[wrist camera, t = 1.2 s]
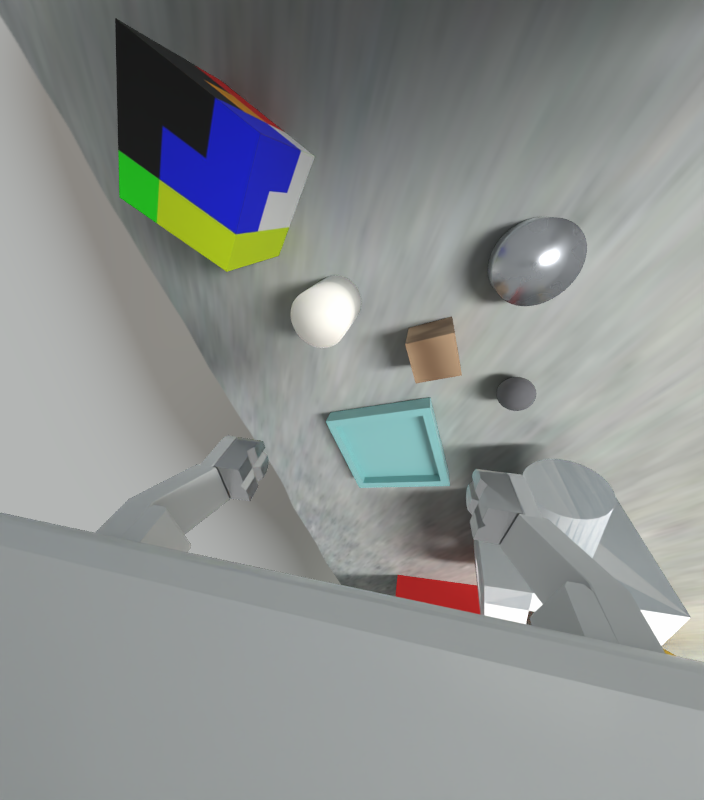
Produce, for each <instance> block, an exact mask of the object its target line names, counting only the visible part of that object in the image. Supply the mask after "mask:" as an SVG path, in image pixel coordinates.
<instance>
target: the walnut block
mask: <svg viewBox="0 0 704 800" xmlns="http://www.w3.org/2000/svg"><path fill="white" fill-rule="evenodd" d="M405 346H406V349H407V353H408V357H409V360H410V364H411V368H412V371H413V375H414V379H415V382H416V383H420V382H426V381H432V380H438V379H443V378H449V377H455V376H460V375H462V374H461V368H460V361H459V355H458V349H457V343H456V337H455V331H454V325H453V319H452V317H449V318H445V319H441V320H437V321H434V322H430V323H426V324H422V325H418V326H414V327H410V328H409V329H408V334H407V338H406V343H405Z"/></svg>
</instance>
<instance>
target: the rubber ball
mask: <svg viewBox="0 0 704 800" xmlns="http://www.w3.org/2000/svg"><path fill="white" fill-rule="evenodd" d="M535 398H536V389H535V387H534V385H533V384H532V383H531V382H530V381H529V380H527V379H525V378H521V377H513V378H509V379H507V380H505V381H503V382H502V383H501V384H500V386H499V387H498V390H497V399H498V401H499V403H500V404H501V405H502V406H503V407H505V408H507V409H509V410H513V411H519V410H524V409H526V408H528V407H529V406H531V405H532V404H533V402H534V401H535Z"/></svg>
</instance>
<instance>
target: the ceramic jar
mask: <svg viewBox="0 0 704 800" xmlns="http://www.w3.org/2000/svg"><path fill="white" fill-rule="evenodd" d="M360 310H361V296H360V293H359V290H358V289H357V287H356V286H355V284H354V283H353V282H352V281H350V280H349V279H347V278H345V277H343V276H339V275H333V276H329V277H327V278H325V279H323V280H322V281H320V282H318V283H317V284H315V285H314V286H312V287H311V288H309V289H307V290H306V291H304V292H303V293H301V294H300V295H299V296H298V297H297V298H296V299H295V300H294V302H293V304H292V307H291V321H292V325H293V327H294V329H295V331H296V333H297V334H298V336H299V337H300V338H301V339H302V340H303V341H305V342H306V343H308V344H309V345H311V346H314V347H318V348H328V347H331V346H334V345H335V344H337V343H338V342H339V341H340V340H341V339H342V337H343V336H344V335H345V333H346V332H347V330H348V329H349V328H350V326H351V325H352V323H353V322H354V321H355V319H356V318H357V317H358V315H359V313H360Z"/></svg>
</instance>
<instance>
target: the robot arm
mask: <svg viewBox="0 0 704 800" xmlns="http://www.w3.org/2000/svg"><path fill="white" fill-rule="evenodd" d="M264 449H265V445H264V442H263V441H260V440H254V439H248V438H242V437H234V436H226V437H224V438H223V439H222V440H221V441H220V442H219V443H218V445H217V446H216V447H215V448H214V449H213V451H211V453H210V454H209V455H208V456H207V457H206V458H205V460H204V461H203V462H202V463H201V464H200V465H198V464H196V465H195V466H192V467H190V468H189V469H186V470H185V471H183V472H181V473H179V474H177V475H175V476H173V477H171V478H169V479H167V480H165V481H163V482H161V483H159V484H157V485H155V486H153V487H151V488H149V489H147V490H146V491H143V492H142V493H140V494H138V495H136V496H134V497H132V498H130V499H129V500H128V501H127V502H125V504H124V505H123V506H122V507H120V509H118V511H116V512H115V513H114V514H113V515H112V516H111V517H110V518H109V519H108V520H107V521H106V522H105V523H104V524H103V525H102V526H101V527H100V529H98V530H97V531H96V532H95V533H94V532H89V531H85V530H80V529H75V528H70V527H66V526H61V525H56V524H51V523H47V522H42V521H37V520H33V519H28V518H23V517H19V516H14V515H10V514H4V513H0V800H704V662H701V661H697V660H692V659H687V658H683V657H678V656H673V655H668V654H666V653H665V652H664V650H663V648H662V647H661V645H660V643H659V641H658V640H657V638H656V636H655V634H654V633H653V631H652V629H651V628H650V626H649V624H648V622H647V621H646V619H645V617H644V616H643V614H642V612H641V610H640V609H639V607H638V605H637V604H636V602H635V600H634V598H633V597H632V595H631V593H630V592H629V591H628V590H627V589H626V588H625V587H624V586H623V585H622V584H620V583H619V582H618V581H617V580H616V579H615V578H614V577H613V576H611V575H610V574H609V573H608V572H607V571H606V570H605V569H604V568H603V567H601V566H600V565H599V564H598V563H597V562H596V561H595V560H594V559H592V558H591V557H590V556H589V555H588V554H587V553H586V552H585V551H584V550H582V549H581V548H580V547H579V546H578V545H577V544H576V543H575V542H573V541H572V540H571V539H570V538H569V537H568V536H567V535H566V534H565V533H563V532H562V531H561V530H560V529H559V528H558V527H557V526H556V525H554V524H553V523H552V522H551V521H550V520H549V519H548V518H543V517H542V515H541V513H540V511H539V508H538V506H537V504H536V502H535V499H534V497H533V495H532V493H531V490H530V488H529V486H528V484H527V481H526V479H525V477H524V476H523V475H521V474H513V473H505V472H497V471H489V470H481V469H475V470H474V472H473V474H472V479H473V482H471V483H469V484H468V487H467V491H466V504H467V510H468V511H469V512H470V513H471V514H472V517H471V519H470V526H471V531H472V536H473V540H478V541H483V542H488V543H493V544H498V545H500V548H501V549H502V550H503V552H504V553H505V554H506V556H507V557H508V558H509V560H510V561H511V562H512V564H513V565H514V566H515V568H516V569H517V570H518V572H519V573H520V574H521V576H522V577H523V579H524V580H525V581H526V583H527V584H528V585H529V587H530V588H531V589H532V591H533V592H534V593H535V595H536V596H537V597H538V599H539V600H540V601H541V603H542V604H543V605H542V606H541V607H540V608H538V609H537V610H536V611H535V612H534V613H533V614H532V615H531V617H530V621H531V625H527V624H523V623H518V622H513V621H508V620H504V619H499V618H494V617H490V616H485V615H480V614H475V613H471V612H466V611H461V610H457V609H452V608H447V607H443V606H438V605H433V604H428V603H424V602H419V601H414V600H410V599H405V598H400V597H396V596H391V595H386V594H381V593H377V592H372V591H367V590H363V589H358V588H353V587H349V586H344V585H339V584H334V583H330V582H325V581H320V580H315V579H310V578H306V577H302V576H297V575H292V574H287V573H283V572H278V571H273V570H268V569H263V568H259V567H254V566H250V565H245V564H240V563H236V562H230V561H226V560H221V559H217V558H212V557H207V556H203V555H198V554H193V553H188V551H189V550H190V548H191V544H190V542H189V541H188V539H187V538H186V536H185V534H186V533H187V532H189V531H190V530H191V529H193V528H194V527H195V526H196V525H198V524H199V523H200V522H202V521H203V520H204V519H205V518H207V517H208V516H209V515H211V514H212V513H213V512H215V511H216V510H217V509H218V508H220V507H221V506H222V505H223V504H225V503H226V502H227V501H229V500H230V498H231V499H238V500H245V501H250V500H251V498H252V497H253V495H254V493H255V492H256V490H257V488H258V484H257V482H258V481H259V480H261V479H262V478H264V475H265V474H266V472H267V468H268V456H267V454H266V453H265V452H263V450H264Z"/></svg>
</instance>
